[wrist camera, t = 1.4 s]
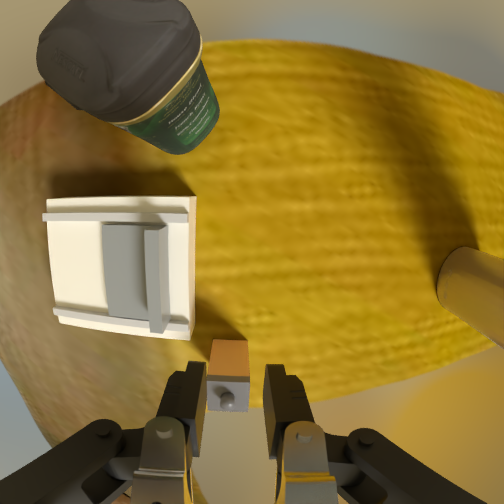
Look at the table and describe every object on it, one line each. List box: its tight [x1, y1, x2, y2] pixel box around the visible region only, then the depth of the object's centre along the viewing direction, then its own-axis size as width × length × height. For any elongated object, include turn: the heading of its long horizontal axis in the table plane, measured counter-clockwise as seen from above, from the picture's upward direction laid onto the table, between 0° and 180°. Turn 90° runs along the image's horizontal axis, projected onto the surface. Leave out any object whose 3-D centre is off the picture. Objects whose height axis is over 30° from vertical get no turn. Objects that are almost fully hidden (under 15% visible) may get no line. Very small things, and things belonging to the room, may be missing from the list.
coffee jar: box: [36, 0, 220, 155], centre depth 17 cm, size 10×8×19 cm
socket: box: [43, 196, 196, 340], centre depth 27 cm, size 16×14×5 cm
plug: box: [207, 339, 250, 412], centre depth 28 cm, size 4×4×9 cm
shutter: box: [102, 224, 171, 334], centre depth 24 cm, size 6×9×3 cm
